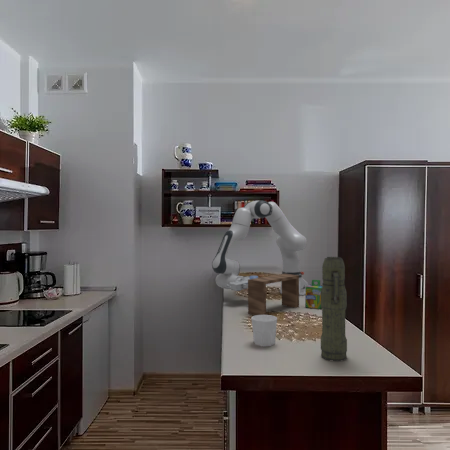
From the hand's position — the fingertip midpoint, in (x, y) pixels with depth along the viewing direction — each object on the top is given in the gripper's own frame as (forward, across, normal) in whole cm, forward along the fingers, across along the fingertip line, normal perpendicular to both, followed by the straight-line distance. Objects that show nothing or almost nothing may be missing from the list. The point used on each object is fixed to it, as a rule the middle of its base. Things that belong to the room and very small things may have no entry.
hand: (255, 286), depth 217 cm
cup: (+46, -45, +11) cm, 66 cm away
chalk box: (+25, +22, +12) cm, 35 cm away
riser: (+14, 0, +11) cm, 18 cm away
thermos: (+73, -40, +11) cm, 84 cm away
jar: (-1, 0, +7) cm, 7 cm away
